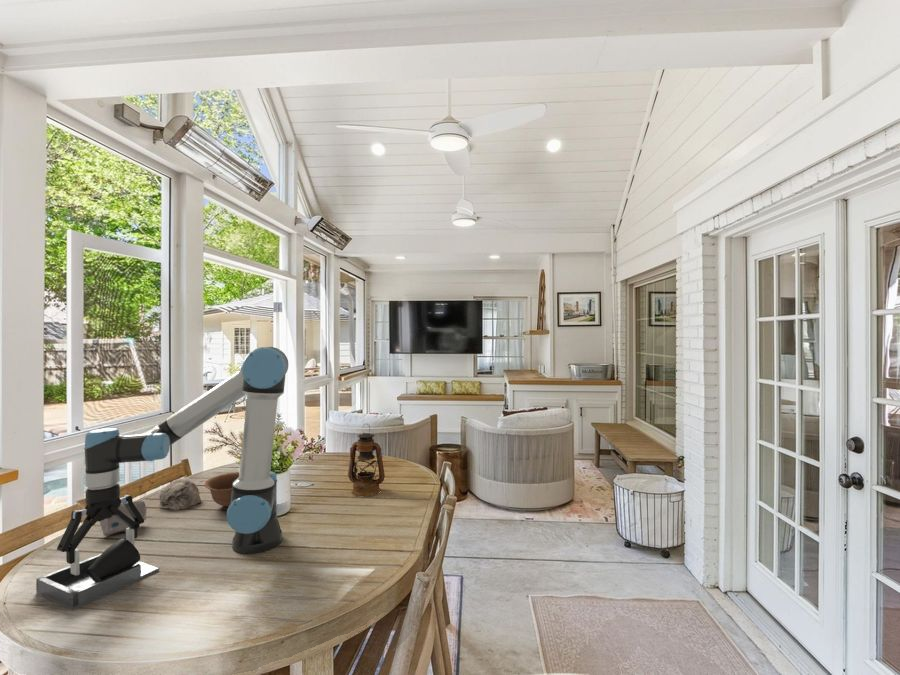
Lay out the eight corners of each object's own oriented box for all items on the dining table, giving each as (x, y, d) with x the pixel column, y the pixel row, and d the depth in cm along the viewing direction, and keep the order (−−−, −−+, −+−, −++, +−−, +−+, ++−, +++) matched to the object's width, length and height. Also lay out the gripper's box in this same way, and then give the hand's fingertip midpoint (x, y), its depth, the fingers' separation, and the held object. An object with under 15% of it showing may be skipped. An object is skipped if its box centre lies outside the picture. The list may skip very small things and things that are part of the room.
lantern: (389, 488, 201) (389, 421, 201) (379, 498, 189) (379, 426, 189) (353, 485, 204) (353, 420, 204) (341, 495, 192) (341, 425, 192)
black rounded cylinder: (102, 598, 122) (136, 570, 130) (107, 582, 116) (142, 553, 124) (81, 577, 123) (116, 550, 131) (84, 560, 116) (121, 533, 124)
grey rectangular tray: (159, 571, 129) (159, 556, 129) (72, 611, 110) (72, 594, 110) (123, 559, 136) (123, 545, 136) (36, 594, 117) (36, 578, 117)
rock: (203, 498, 189) (203, 474, 189) (198, 508, 178) (198, 483, 178) (162, 502, 184) (162, 478, 184) (154, 513, 173) (154, 487, 173)
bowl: (224, 521, 165) (224, 491, 165) (192, 509, 176) (192, 481, 176) (276, 502, 183) (276, 475, 183) (243, 493, 195) (243, 467, 195)
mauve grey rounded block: (101, 538, 153) (103, 537, 149) (97, 510, 154) (99, 508, 150) (147, 523, 162) (150, 522, 158) (143, 497, 164) (146, 495, 160)
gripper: (141, 471, 137) (142, 540, 137) (39, 498, 114) (40, 581, 114) (157, 474, 134) (158, 545, 134) (55, 502, 111) (56, 588, 111)
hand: (104, 562), depth 124 cm, fingers open, 13 cm apart
